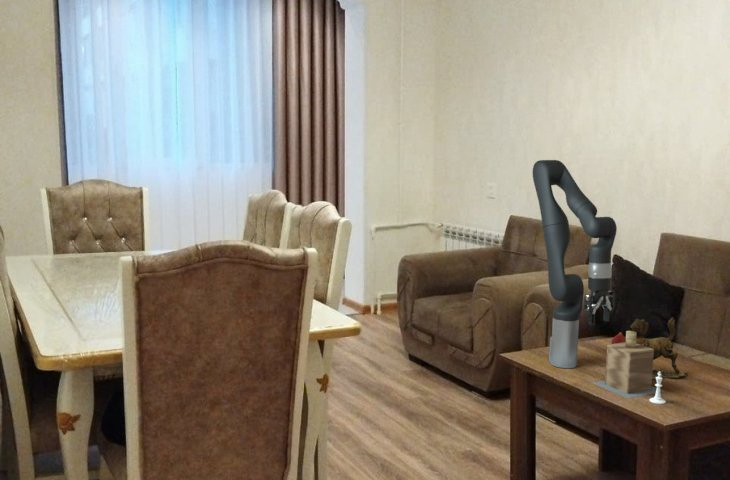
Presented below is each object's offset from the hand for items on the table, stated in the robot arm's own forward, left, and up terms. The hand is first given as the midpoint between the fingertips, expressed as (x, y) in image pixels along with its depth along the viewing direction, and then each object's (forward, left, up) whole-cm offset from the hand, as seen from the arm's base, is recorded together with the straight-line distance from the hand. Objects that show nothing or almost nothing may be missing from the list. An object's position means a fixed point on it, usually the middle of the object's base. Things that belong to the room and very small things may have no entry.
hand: (599, 322), depth 253 cm
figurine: (+7, +20, -19) cm, 28 cm away
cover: (+13, +2, -19) cm, 23 cm away
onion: (-20, +31, -20) cm, 42 cm away
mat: (+13, +2, -19) cm, 23 cm away
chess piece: (+27, 0, -20) cm, 33 cm away
